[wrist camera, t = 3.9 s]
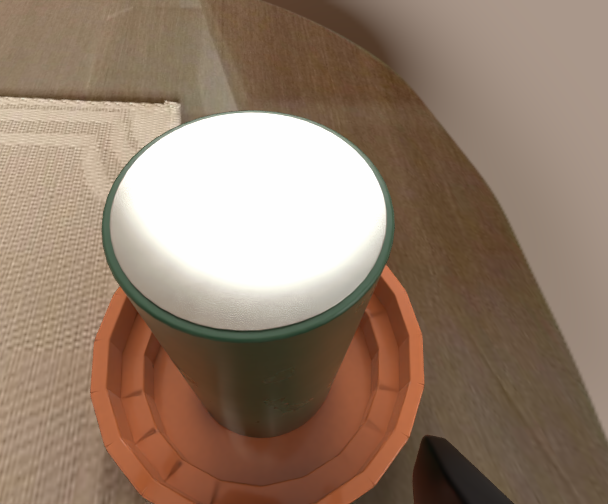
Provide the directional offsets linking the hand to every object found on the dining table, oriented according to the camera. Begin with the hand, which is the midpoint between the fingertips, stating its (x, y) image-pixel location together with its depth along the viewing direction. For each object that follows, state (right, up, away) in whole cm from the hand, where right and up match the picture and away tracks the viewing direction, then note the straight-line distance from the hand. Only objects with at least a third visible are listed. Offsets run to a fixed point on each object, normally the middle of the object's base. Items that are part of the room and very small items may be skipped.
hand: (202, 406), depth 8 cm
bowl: (0, -2, +12) cm, 12 cm away
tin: (0, -2, +11) cm, 11 cm away
